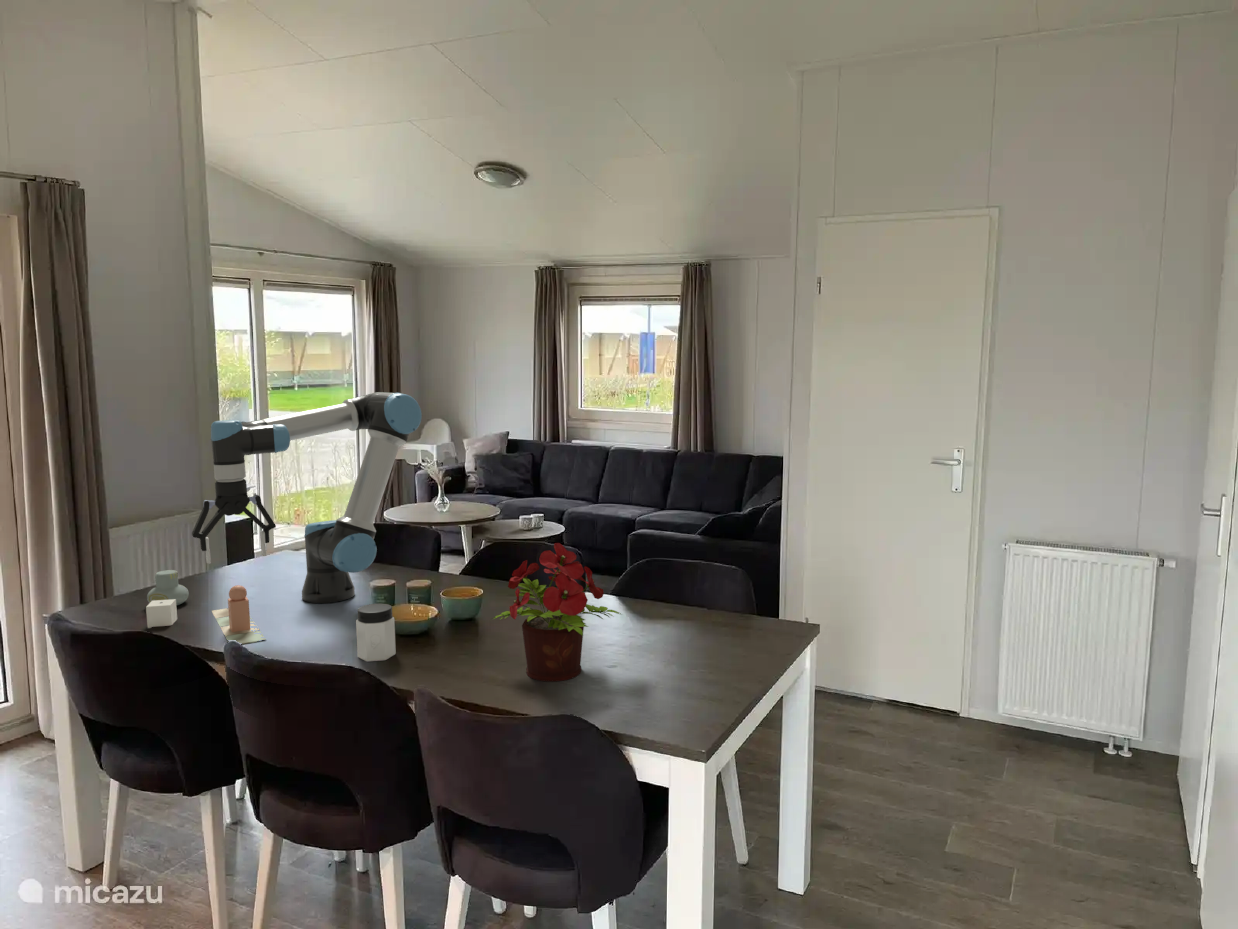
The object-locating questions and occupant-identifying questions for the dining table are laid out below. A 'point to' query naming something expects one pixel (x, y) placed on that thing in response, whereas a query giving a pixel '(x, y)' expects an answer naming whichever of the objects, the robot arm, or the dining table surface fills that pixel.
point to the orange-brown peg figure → (238, 609)
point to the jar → (375, 632)
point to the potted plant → (554, 615)
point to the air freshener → (168, 588)
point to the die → (161, 613)
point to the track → (239, 636)
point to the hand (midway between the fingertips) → (236, 559)
